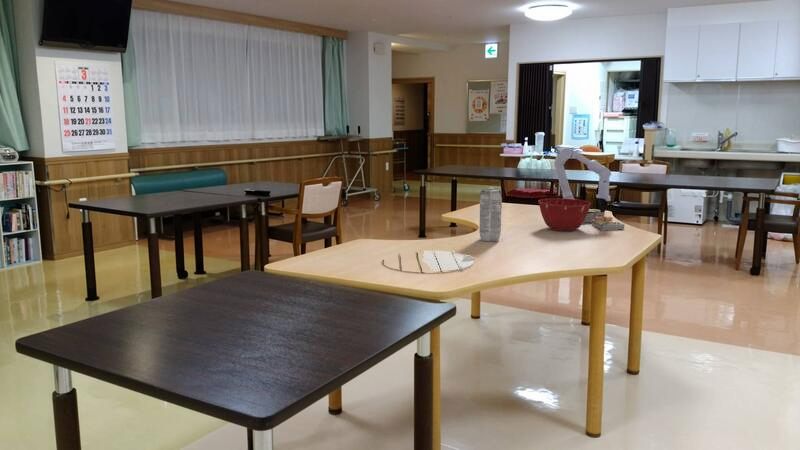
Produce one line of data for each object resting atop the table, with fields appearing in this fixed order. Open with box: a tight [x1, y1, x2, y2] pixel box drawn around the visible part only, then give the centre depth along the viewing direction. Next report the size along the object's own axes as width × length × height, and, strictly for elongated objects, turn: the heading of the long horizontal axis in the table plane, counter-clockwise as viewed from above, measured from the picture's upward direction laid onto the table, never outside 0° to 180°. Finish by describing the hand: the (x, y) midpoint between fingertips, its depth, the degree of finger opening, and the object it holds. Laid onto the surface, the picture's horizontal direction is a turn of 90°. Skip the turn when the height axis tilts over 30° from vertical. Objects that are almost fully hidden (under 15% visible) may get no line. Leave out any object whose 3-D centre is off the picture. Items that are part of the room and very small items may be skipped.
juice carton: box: [479, 186, 503, 243], centre depth 313 cm, size 9×10×27 cm
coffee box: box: [582, 208, 606, 224], centre depth 370 cm, size 9×6×16 cm
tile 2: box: [603, 215, 613, 221], centre depth 355 cm, size 4×4×2 cm
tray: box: [595, 221, 625, 231], centre depth 346 cm, size 13×8×3 cm, turn 96°
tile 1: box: [594, 217, 604, 221], centre depth 354 cm, size 4×4×2 cm
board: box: [591, 219, 617, 228], centre depth 354 cm, size 11×8×3 cm
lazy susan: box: [422, 250, 476, 272], centre depth 269 cm, size 40×39×3 cm
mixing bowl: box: [538, 198, 592, 232], centre depth 344 cm, size 28×28×15 cm
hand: (602, 211), depth 361 cm, fingers closed
